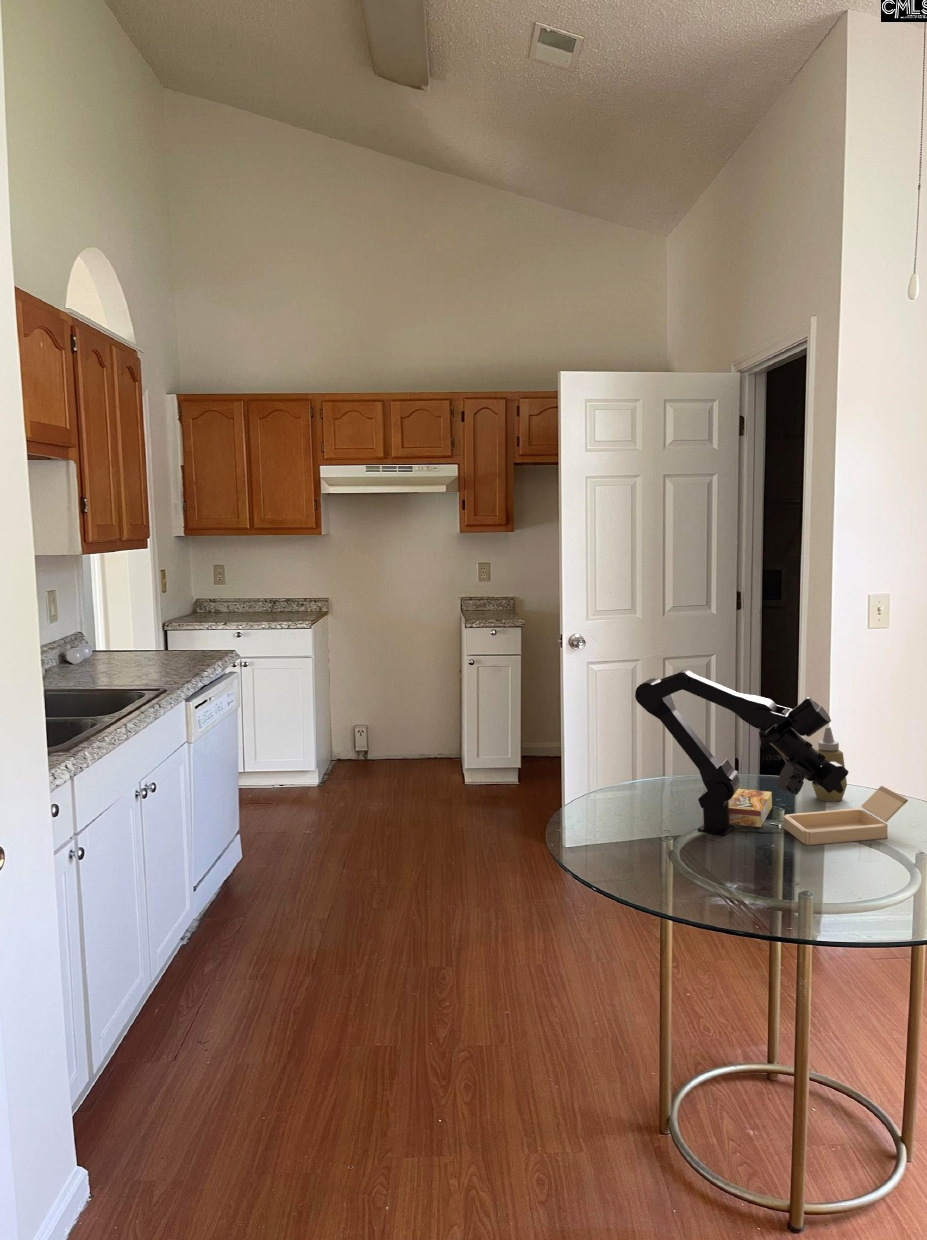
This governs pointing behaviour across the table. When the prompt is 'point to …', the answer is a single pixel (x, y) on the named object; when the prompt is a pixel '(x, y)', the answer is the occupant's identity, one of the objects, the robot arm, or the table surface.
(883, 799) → the flap
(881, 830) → the carton
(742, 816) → the candy box
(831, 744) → the squeeze bottle
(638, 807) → the table surface
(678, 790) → the table surface
